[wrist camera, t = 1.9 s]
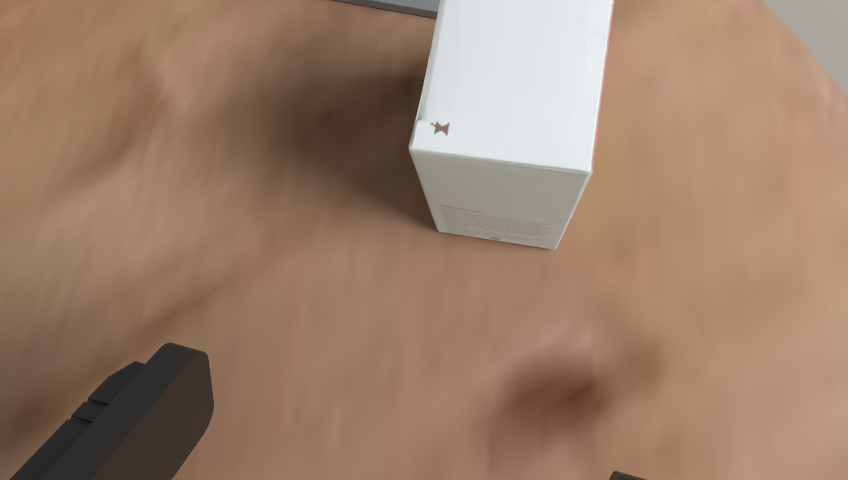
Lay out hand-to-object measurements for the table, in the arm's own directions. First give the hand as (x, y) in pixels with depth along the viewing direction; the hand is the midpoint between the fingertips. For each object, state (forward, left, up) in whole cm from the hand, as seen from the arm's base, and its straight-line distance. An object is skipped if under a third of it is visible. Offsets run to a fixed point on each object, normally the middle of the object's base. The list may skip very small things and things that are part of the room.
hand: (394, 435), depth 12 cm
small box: (0, +11, -16) cm, 19 cm away
